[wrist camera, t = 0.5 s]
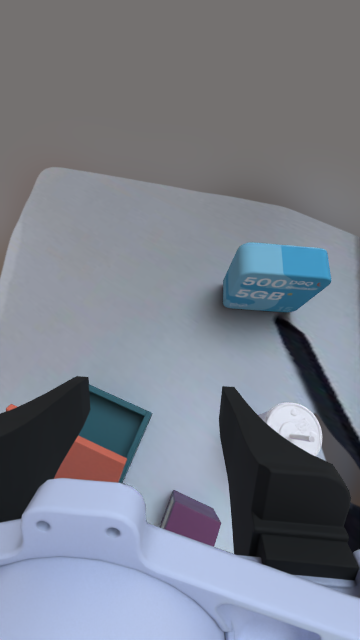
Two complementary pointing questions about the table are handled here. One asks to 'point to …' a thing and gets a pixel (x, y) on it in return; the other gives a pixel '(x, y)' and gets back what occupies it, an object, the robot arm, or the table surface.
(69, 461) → the lunchbox lid
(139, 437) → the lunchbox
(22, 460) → the robot arm
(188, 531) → the juice box
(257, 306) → the data package
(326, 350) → the table surface
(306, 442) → the smoothie
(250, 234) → the table surface
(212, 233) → the table surface
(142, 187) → the table surface
